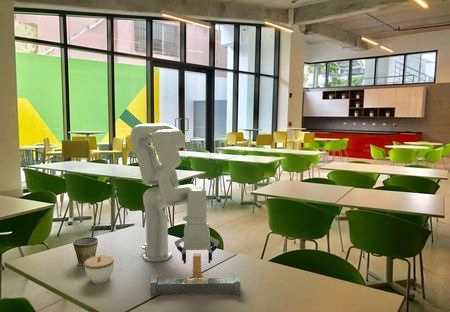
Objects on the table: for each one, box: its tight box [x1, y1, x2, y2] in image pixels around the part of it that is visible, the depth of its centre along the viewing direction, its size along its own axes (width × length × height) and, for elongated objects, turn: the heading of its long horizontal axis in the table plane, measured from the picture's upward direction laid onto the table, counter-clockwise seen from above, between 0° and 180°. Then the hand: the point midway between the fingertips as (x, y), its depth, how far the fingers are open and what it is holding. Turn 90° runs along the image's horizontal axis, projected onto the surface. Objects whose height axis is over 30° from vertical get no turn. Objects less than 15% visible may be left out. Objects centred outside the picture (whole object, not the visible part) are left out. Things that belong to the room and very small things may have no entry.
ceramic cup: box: [72, 236, 99, 267], centre depth 159 cm, size 13×10×10 cm
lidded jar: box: [84, 255, 114, 284], centre depth 142 cm, size 11×11×9 cm
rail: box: [149, 273, 241, 297], centre depth 133 cm, size 32×6×5 cm, turn 92°
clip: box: [192, 252, 202, 278], centre depth 144 cm, size 8×3×10 cm, turn 2°
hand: (197, 262), depth 144 cm, fingers open, 9 cm apart
